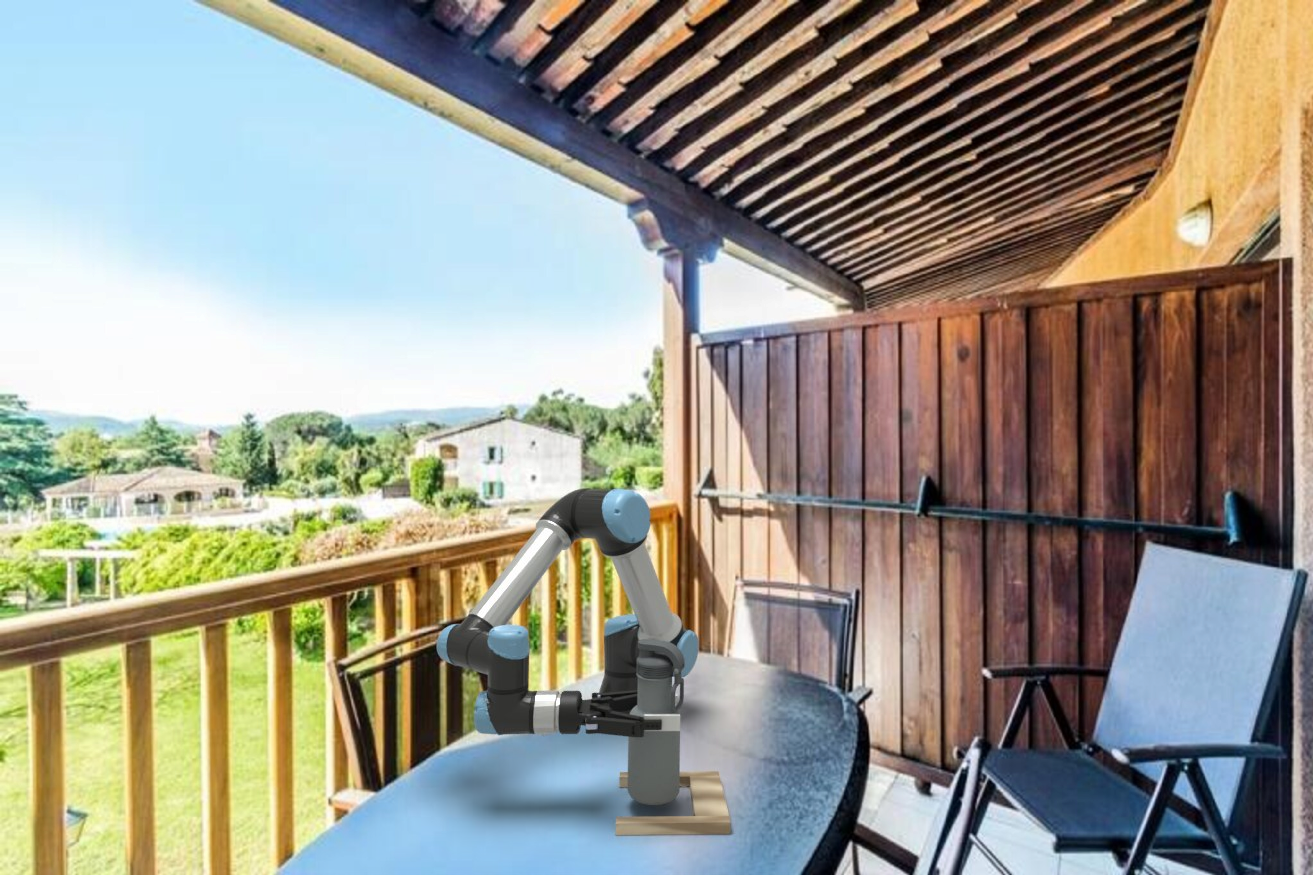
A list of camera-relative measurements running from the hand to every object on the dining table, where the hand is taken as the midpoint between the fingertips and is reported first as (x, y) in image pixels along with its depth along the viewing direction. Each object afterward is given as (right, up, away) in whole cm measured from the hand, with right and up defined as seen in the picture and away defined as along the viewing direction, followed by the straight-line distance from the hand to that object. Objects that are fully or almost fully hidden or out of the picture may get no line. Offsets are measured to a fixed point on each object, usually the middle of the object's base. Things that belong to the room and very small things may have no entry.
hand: (678, 711), depth 118 cm
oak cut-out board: (-1, -17, -1) cm, 18 cm away
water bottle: (-5, -15, -1) cm, 16 cm away
